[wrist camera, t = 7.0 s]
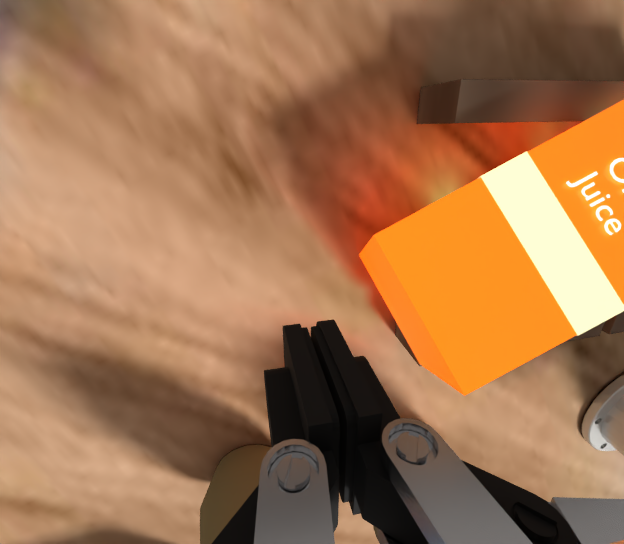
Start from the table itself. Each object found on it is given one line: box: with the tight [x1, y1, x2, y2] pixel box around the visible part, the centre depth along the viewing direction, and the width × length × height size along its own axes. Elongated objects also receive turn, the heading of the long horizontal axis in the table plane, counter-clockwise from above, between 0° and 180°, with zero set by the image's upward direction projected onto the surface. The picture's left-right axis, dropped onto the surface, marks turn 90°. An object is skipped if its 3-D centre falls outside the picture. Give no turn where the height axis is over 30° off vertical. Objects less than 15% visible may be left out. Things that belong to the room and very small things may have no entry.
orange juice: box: [359, 100, 624, 396], centre depth 20 cm, size 8×9×20 cm
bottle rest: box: [395, 79, 624, 366], centre depth 24 cm, size 19×18×4 cm
